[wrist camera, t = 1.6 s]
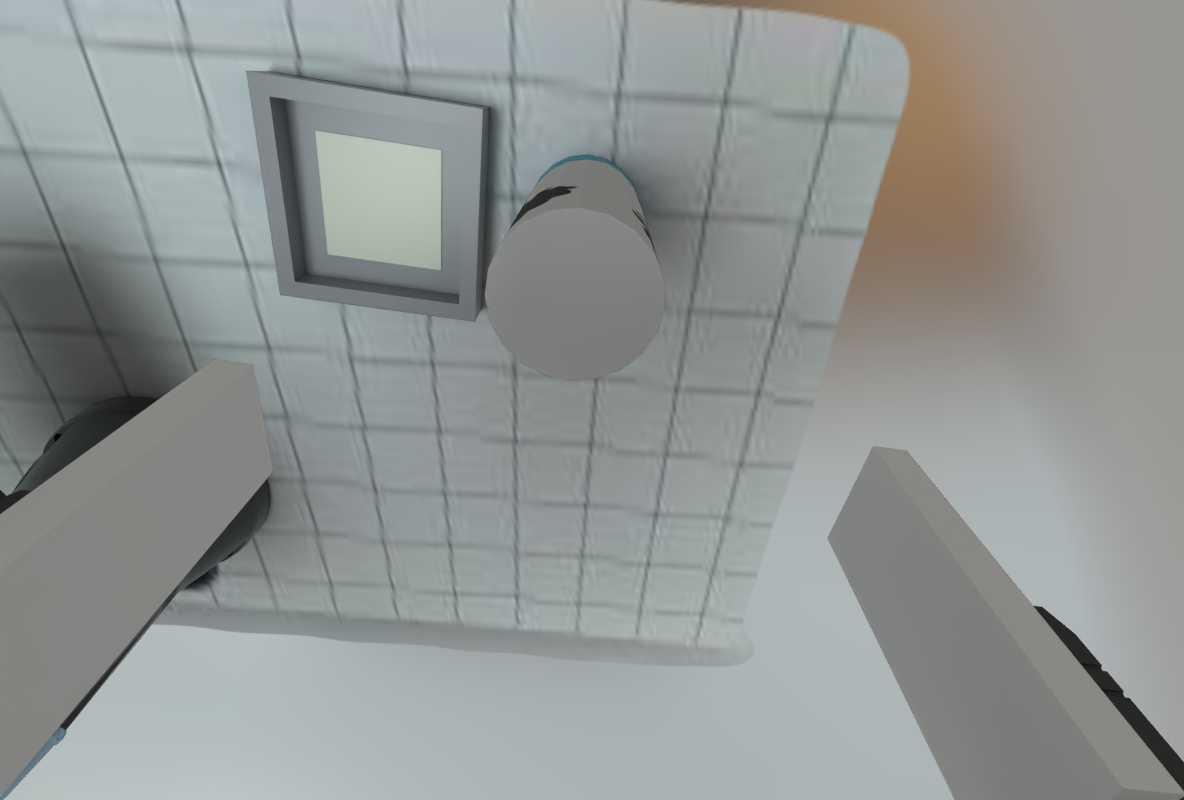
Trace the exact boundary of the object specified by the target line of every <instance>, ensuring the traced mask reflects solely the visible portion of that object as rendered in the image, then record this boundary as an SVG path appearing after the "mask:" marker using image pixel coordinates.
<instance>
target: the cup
mask: <svg viewBox="0 0 1184 800" xmlns="http://www.w3.org/2000/svg"><path fill="white" fill-rule="evenodd" d="M485 300H486V305H487V310H488V315H489V320H490V323H491V325H492V327H493V328H494V330H495V332H496V334H497V335H498V337H499V339H500V341H501V343H502V344H503V346H504V347H505V348H506V349H507V350H508V351H510V352H511V353H512V354H513V355H514V356H515V357H516V358H517V359H518V360H519V361H520V362H521V363H522V364H524V365H526V366H528V367H530V368H532V369H534V370H536V371H538V372H540V373H542V374H543V375H545V376H550V377H555V378H560V379H565V380H570V381H575V380H587V379H598V378H601V377H603V376H606V375H609V374H611V373H614V372H616V371H619V370H622V369H623V368H624V367H626V366H627V365H628V364H630V363H631V362H632V361H633V360H635V359H636V358H637V357H639V356H640V355H641V354H642V353H643V352H644V351H645V349H646V348H647V346H648V345H649V343H650V342H651V341H652V339H653V338H654V336H655V335H656V333H657V332H658V328H659V325H660V322H661V318H662V315H663V312H664V309H665V292H664V278H663V275H662V271H661V268H660V265H659V262H658V259H657V256H656V253H655V249H654V246H653V243H652V240H651V237H650V234H649V231H648V227H647V224H646V221H645V218H644V215H643V212H642V208H641V205H640V202H639V199H638V197H637V194H636V191H635V189H634V186H633V183H632V182H631V181H630V180H629V178H628V177H627V176H626V175H625V173H624V172H623V171H622V170H621V169H620V168H619V167H617V166H616V165H614V164H612V163H611V162H609V161H608V160H606V159H603V158H599V157H595V156H591V155H582V156H572V157H568V158H566V159H564V160H562V161H560V162H558V163H556V164H554V165H552V166H551V167H550V168H549V169H548V170H547V171H546V172H545V173H544V174H543V175H542V176H541V177H540V179H539V181H538V182H537V184H536V186H535V187H534V189H533V191H532V192H531V194H530V196H529V197H528V199H527V201H526V202H525V204H524V206H523V207H522V209H521V210H520V212H519V214H518V215H517V217H516V219H515V220H514V222H513V224H512V225H511V227H510V229H509V230H508V232H507V234H506V235H505V237H504V239H503V240H502V242H501V244H500V246H499V248H498V250H497V252H496V254H495V256H494V258H493V260H492V262H491V264H490V266H489V268H488V273H487V281H486V289H485Z"/></svg>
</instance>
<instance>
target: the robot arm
mask: <svg viewBox="0 0 1184 800" xmlns="http://www.w3.org/2000/svg"><path fill="white" fill-rule="evenodd" d="M272 472H273V467H272V462H271V456H270V451H269V446H268V441H267V436H266V430H265V425H264V420H263V415H262V410H261V404H260V399H259V394H258V389H257V384H256V379H255V373H254V368H253V364H246V363H238V362H230V361H223V360H215V359H214V360H212V361H211V362H210V363H208V364H207V365H206V366H204V367H203V368H201V369H200V370H199V371H197V372H196V373H194V374H193V375H192V376H190V377H189V378H188V379H186V380H185V381H183V382H182V383H181V384H179V385H178V386H177V387H175V388H174V389H172V390H171V391H170V392H168V393H167V394H165V395H164V396H163V397H161V398H160V399H159V400H155V399H149V398H140V397H123V398H114V399H109V400H105V401H102V402H99V403H97V404H95V405H92V406H91V407H89V408H87V409H86V410H84V411H83V412H81V413H80V414H78V415H77V416H75V417H74V418H72V419H70V420H69V421H67V422H66V423H65V424H63V425H62V426H61V427H60V428H59V429H58V430H57V431H56V432H55V433H54V434H53V435H52V437H51V438H50V440H49V441H48V443H47V444H46V446H45V449H44V452H43V454H42V456H40V457H39V458H38V459H37V460H36V462H35V463H34V464H33V465H32V466H31V467H30V469H29V470H28V471H27V472H26V474H25V475H24V477H23V478H22V479H21V481H20V482H19V484H18V485H17V486H16V488H15V489H14V491H13V492H12V493H11V494H10V495H8V496H6V495H5V494H4V493H3V492H2V491H1V490H0V800H3V799H4V798H5V797H7V796H8V795H9V793H10V792H11V791H12V790H13V789H14V788H15V787H16V786H17V785H18V784H19V782H21V780H22V779H23V778H24V777H25V776H26V775H27V774H28V773H29V772H30V771H31V770H32V769H33V768H34V766H35V765H36V764H37V763H38V762H39V761H40V760H41V759H42V758H43V757H44V756H45V755H46V754H47V752H48V751H49V750H50V749H51V748H52V747H53V746H54V745H56V744H58V743H59V742H60V741H61V740H62V739H63V738H64V736H65V735H66V729H67V728H68V727H69V726H70V724H71V723H72V722H73V721H74V719H75V718H76V717H77V716H78V715H79V713H80V712H81V711H82V710H83V708H84V707H85V706H86V705H87V703H88V702H89V701H90V700H91V698H92V697H93V696H94V695H95V694H96V692H97V691H98V690H99V689H100V688H101V686H102V685H103V684H104V682H105V681H106V680H107V679H108V678H109V676H110V675H111V674H112V673H113V672H114V670H115V669H116V668H117V667H118V665H119V664H120V663H121V662H122V660H123V659H124V658H125V657H126V656H127V654H128V653H129V652H130V651H131V649H132V648H133V647H134V646H135V644H136V643H137V642H138V641H139V640H140V638H141V637H142V635H144V633H145V632H146V631H147V630H148V628H149V627H150V626H151V625H152V624H153V622H154V621H155V620H156V619H157V617H158V616H159V615H160V614H161V612H162V611H163V610H164V609H165V607H166V606H167V605H168V604H169V603H170V601H171V600H172V599H173V598H174V597H175V595H176V594H177V593H178V592H179V591H181V590H182V589H183V588H185V587H186V586H188V585H189V584H190V583H192V582H193V581H194V580H196V579H197V578H199V577H200V576H201V575H203V574H204V573H206V572H207V571H208V570H210V569H211V568H212V567H214V566H215V565H217V564H218V563H220V562H222V561H224V560H227V559H228V558H230V557H231V556H233V555H235V554H236V553H237V552H239V551H240V550H241V549H242V548H243V547H244V546H245V545H246V544H247V543H248V542H249V541H250V540H251V538H252V537H253V536H254V534H255V533H256V532H257V530H258V529H259V528H260V526H261V525H262V524H263V522H264V520H265V518H266V516H267V513H268V510H269V501H270V500H269V490H268V486H267V483H266V479H267V478H268V477H269V476H270V474H271V473H272ZM828 540H829V542H830V544H831V546H832V548H833V551H834V552H835V555H836V557H837V559H838V561H839V563H840V565H841V567H842V569H843V571H844V573H845V575H846V577H847V579H848V581H849V583H850V586H851V587H852V589H853V592H854V594H855V596H856V598H857V600H858V602H859V604H860V606H861V608H862V610H863V612H864V614H865V616H866V618H867V620H868V623H869V625H870V627H871V628H872V631H873V633H874V635H875V637H876V639H877V641H878V643H879V645H880V647H881V649H882V651H883V653H884V655H885V658H886V660H887V662H888V664H889V665H890V667H891V670H892V672H893V674H894V676H895V678H896V680H897V682H898V684H899V686H900V688H901V690H902V692H903V695H904V697H905V699H906V701H907V703H908V705H909V707H910V709H911V711H912V713H913V715H914V717H915V719H916V721H917V723H918V725H919V727H920V730H921V732H922V734H923V736H924V738H925V740H926V742H927V744H928V746H929V748H930V750H931V752H932V754H933V756H934V758H935V760H936V762H937V765H938V766H939V769H940V771H941V773H942V775H943V777H944V779H945V781H946V783H947V785H948V787H949V789H950V791H951V793H952V795H953V797H954V800H1184V762H1183V761H1182V760H1181V758H1180V757H1179V756H1178V755H1177V754H1176V753H1175V751H1174V750H1173V749H1172V748H1171V747H1170V746H1169V744H1168V743H1167V742H1166V741H1165V740H1164V739H1163V737H1162V736H1161V735H1160V734H1159V732H1158V731H1157V730H1156V729H1155V728H1154V727H1153V725H1152V724H1151V723H1150V722H1149V721H1148V720H1147V718H1146V717H1145V716H1144V715H1143V714H1142V712H1141V711H1140V710H1139V709H1138V708H1137V706H1136V705H1135V704H1134V703H1133V702H1132V701H1131V699H1130V698H1125V697H1124V695H1123V690H1122V689H1121V688H1120V686H1119V685H1118V684H1117V683H1116V682H1115V681H1114V680H1113V678H1112V677H1111V676H1110V675H1109V674H1108V672H1106V671H1102V669H1101V666H1102V665H1101V664H1100V663H1099V662H1098V660H1096V658H1095V657H1094V656H1093V655H1092V654H1091V652H1090V651H1089V650H1088V649H1087V648H1086V646H1085V645H1084V644H1083V643H1082V642H1081V641H1080V639H1079V638H1078V637H1077V636H1076V634H1074V633H1073V632H1072V631H1071V630H1069V629H1068V628H1067V627H1066V626H1065V625H1063V624H1062V623H1061V622H1060V621H1058V620H1057V619H1056V618H1055V617H1054V616H1052V615H1051V614H1050V613H1049V612H1048V611H1046V610H1045V609H1044V608H1043V607H1038V606H1033V605H1032V604H1031V603H1030V601H1029V600H1028V599H1027V598H1026V597H1025V596H1024V594H1023V593H1022V592H1021V590H1020V589H1019V588H1018V587H1017V585H1016V584H1015V583H1014V582H1013V581H1012V579H1011V578H1010V577H1009V576H1008V574H1007V573H1006V572H1005V571H1004V569H1003V568H1002V567H1001V566H1000V565H999V563H998V562H997V561H996V560H995V559H994V557H993V556H992V555H991V553H990V552H989V551H988V550H987V548H986V547H985V546H984V545H983V544H982V543H981V541H980V540H979V539H978V537H977V536H976V535H975V534H974V533H973V531H972V530H971V529H970V528H969V526H968V525H967V524H966V523H965V521H964V520H963V519H962V518H961V517H960V515H959V514H958V513H957V512H956V510H955V509H954V508H953V507H952V506H951V504H950V503H949V502H948V501H947V499H946V498H945V497H944V496H943V494H942V493H941V492H940V491H939V489H938V488H937V487H936V486H935V485H934V483H933V482H932V481H931V480H930V479H929V477H928V476H927V475H926V473H925V472H924V471H923V470H922V469H921V467H920V466H919V465H918V464H917V462H916V461H915V460H914V459H913V457H912V456H911V455H910V454H909V453H908V451H906V450H898V449H890V448H883V447H876V446H873V448H872V449H871V452H870V454H869V456H868V458H867V460H866V462H865V464H864V466H863V468H862V470H861V472H860V474H859V476H858V478H857V480H856V482H855V484H854V486H853V488H852V490H851V492H850V494H849V496H848V498H847V500H846V502H845V504H844V506H843V508H842V510H841V512H840V514H839V516H838V518H837V520H836V522H835V524H834V526H833V528H832V530H831V532H830V534H829V536H828Z"/></svg>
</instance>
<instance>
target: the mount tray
mask: <svg viewBox="0 0 1184 800" xmlns="http://www.w3.org/2000/svg"><path fill="white" fill-rule="evenodd" d="M246 73H247V80H248V86H249V93H250V99H251V106H252V113H253V119H254V126H255V132H256V139H257V145H258V152H259V159H260V165H261V172H262V178H263V185H264V192H265V198H266V205H267V211H268V218H269V224H270V231H271V238H272V244H273V251H274V257H275V264H276V270H277V277H278V284H279V290H280V295H284V296H291V297H298V298H306V299H313V300H320V301H328V302H335V303H342V304H349V305H357V306H364V307H371V308H379V309H386V310H393V311H401V312H408V313H415V314H423V315H430V316H437V317H444V318H452V319H459V320H466V321H474V322H475V320H476V319H477V317H478V315H479V313H480V311H481V306H482V283H483V260H484V236H485V213H486V190H487V166H488V143H489V120H490V107H487V106H481V105H474V104H468V103H462V102H456V101H449V100H443V99H437V98H431V97H425V96H418V95H412V94H406V93H400V92H394V91H387V90H381V89H375V88H369V87H362V86H356V85H350V84H344V83H338V82H331V81H325V80H319V79H313V78H307V77H300V76H294V75H288V74H282V73H276V72H269V71H246Z"/></svg>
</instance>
